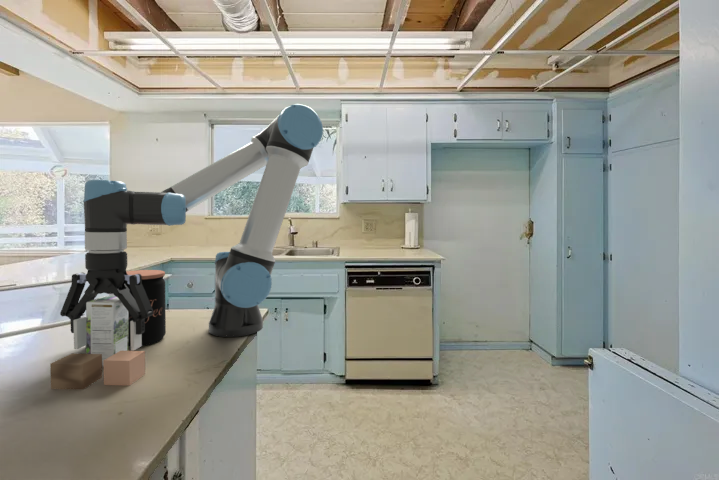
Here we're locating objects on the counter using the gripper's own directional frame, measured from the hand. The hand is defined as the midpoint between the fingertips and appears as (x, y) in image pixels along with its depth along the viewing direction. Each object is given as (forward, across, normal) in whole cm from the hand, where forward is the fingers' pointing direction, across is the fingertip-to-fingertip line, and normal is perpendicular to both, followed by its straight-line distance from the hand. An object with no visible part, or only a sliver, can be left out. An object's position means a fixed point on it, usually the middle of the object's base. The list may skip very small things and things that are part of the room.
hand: (108, 347), depth 78 cm
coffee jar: (+3, +1, -14) cm, 14 cm away
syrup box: (+3, 0, 0) cm, 3 cm away
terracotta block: (+3, -9, +8) cm, 12 cm away
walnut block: (+3, -1, +10) cm, 11 cm away
